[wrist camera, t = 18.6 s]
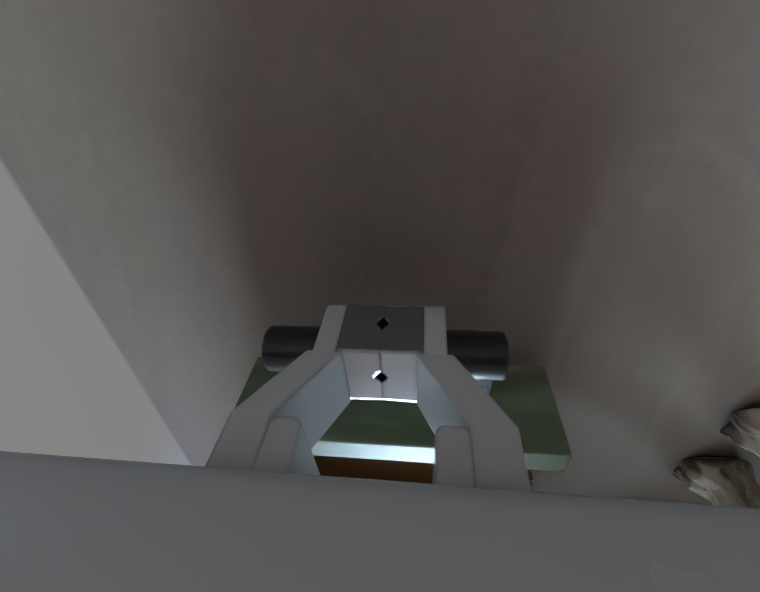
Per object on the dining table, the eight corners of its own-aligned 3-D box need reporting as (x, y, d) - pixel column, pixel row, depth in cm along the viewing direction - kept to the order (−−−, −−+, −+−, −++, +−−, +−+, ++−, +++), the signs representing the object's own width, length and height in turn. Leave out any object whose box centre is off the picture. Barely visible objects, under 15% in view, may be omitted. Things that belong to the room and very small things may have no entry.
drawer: (222, 271, 13) (167, 348, 11) (576, 274, 12) (623, 364, 9) (314, 492, 26) (300, 556, 23) (495, 507, 24) (505, 577, 21)
